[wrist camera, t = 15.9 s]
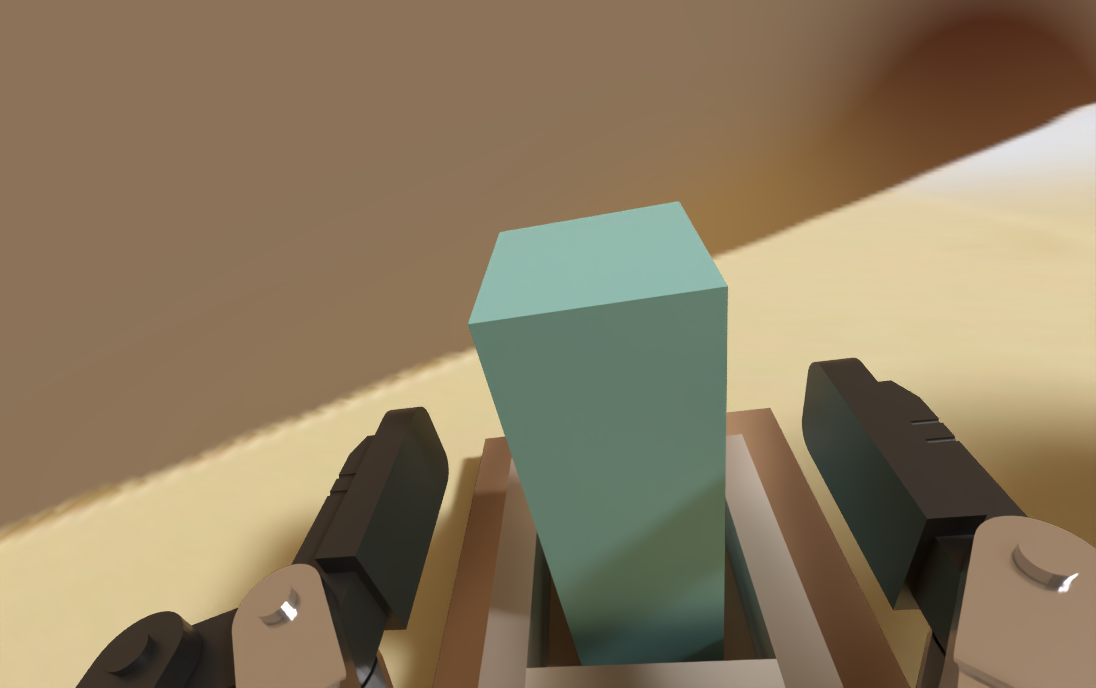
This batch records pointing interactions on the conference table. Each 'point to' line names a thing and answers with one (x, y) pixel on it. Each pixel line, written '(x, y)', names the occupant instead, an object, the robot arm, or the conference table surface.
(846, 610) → the walnut socket plate
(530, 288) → the teal post
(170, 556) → the conference table surface
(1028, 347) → the conference table surface
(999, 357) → the conference table surface
